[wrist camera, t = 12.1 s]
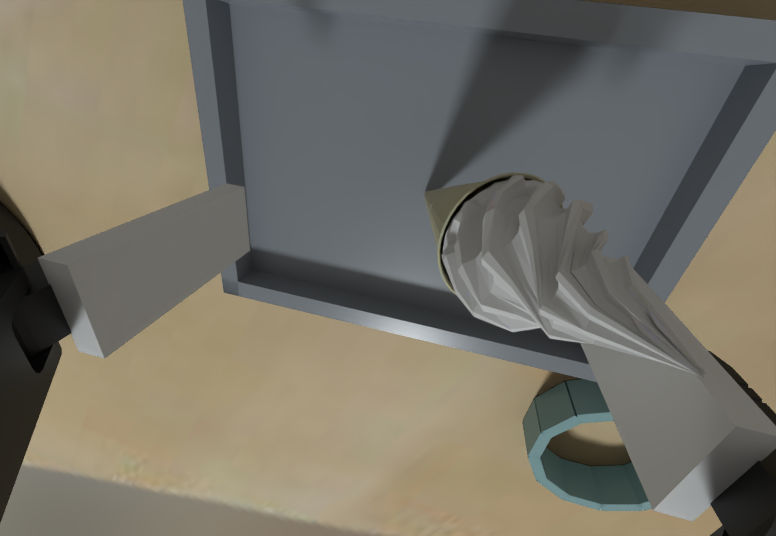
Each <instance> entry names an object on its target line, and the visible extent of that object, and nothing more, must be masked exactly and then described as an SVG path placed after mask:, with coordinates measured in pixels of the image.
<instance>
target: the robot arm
mask: <svg viewBox="0 0 776 536" xmlns="http://www.w3.org/2000/svg"><path fill="white" fill-rule="evenodd" d="M249 251H250V244H249V233H248V222H247V210H246V199H245V188H244V187H242V186H237V185H232V184H227V183H226V184H224V185H221V186H218V187H216V188H213V189H211V190H208V191H206V192H203V193H201V194H198V195H196V196H193V197H190V198H188V199H185V200H183V201H180V202H178V203H175V204H173V205H170V206H168V207H165V208H163V209H160V210H157V211H155V212H152V213H150V214H147V215H145V216H142V217H140V218H137V219H135V220H132V221H130V222H127V223H124V224H122V225H119V226H117V227H114V228H112V229H109V230H107V231H104V232H102V233H99V234H97V235H94V236H91V237H89V238H86V239H84V240H81V241H79V242H76V243H74V244H71V245H69V246H66V247H64V248H61V249H58V250H56V251H53V252H51V253H48V254H46V255H43V256H42V255H41V253H40V252H39V250H38V248H37V247H36V245H35V243H34V242H33V240H32V239H31V238H30V236H29V235H28V233H27V232H26V231H25V230H24V228H23V227H22V226H21V225H20V223H19V222H18V221H17V220H16V219H15V218H14V217H13V216H12V215H11V214H10V213H9V212H8V211H7V210H6V209H5V208H4V207H3V206H2V205H1V204H0V522H1V519H2V517H3V514H4V511H5V508H6V505H7V503H8V500H9V498H10V495H11V492H12V489H13V486H14V484H15V481H16V478H17V475H18V473H19V470H20V467H21V464H22V462H23V459H24V456H25V453H26V451H27V448H28V445H29V442H30V440H31V437H32V434H33V431H34V429H35V426H36V423H37V420H38V418H39V415H40V412H41V409H42V407H43V404H44V401H45V398H46V396H47V393H48V390H49V387H50V385H51V382H52V379H53V376H54V374H55V371H56V368H57V365H58V363H59V360H60V357H61V354H62V349H61V346H60V344H59V342H58V341H59V340H61V339H63V338H64V337H66V336H67V335H69V334H71V335H72V337H73V340H74V342H75V344H76V346H77V349H78V351H79V352H82V353H86V354H90V355H93V356H97V357H100V358H104V359H105V358H106V357H107V356H109V355H110V354H111V353H113V352H114V351H115V350H117V349H118V348H119V347H121V346H122V345H124V344H125V343H126V342H128V341H129V340H130V339H132V338H133V337H134V336H136V335H137V334H138V333H140V332H141V331H142V330H144V329H145V328H146V327H148V326H149V325H150V324H152V323H153V322H154V321H156V320H157V319H159V318H160V317H161V316H163V315H164V314H165V313H167V312H168V311H169V310H171V309H172V308H173V307H175V306H176V305H177V304H179V303H180V302H181V301H183V300H184V299H185V298H187V297H188V296H189V295H191V294H192V293H194V292H195V291H196V290H198V289H199V288H200V287H202V286H203V285H204V284H206V283H207V282H208V281H210V280H211V279H212V278H214V277H215V276H216V275H218V274H219V273H220V272H222V271H223V270H224V269H226V268H227V267H229V266H230V265H231V264H233V263H234V262H235V261H237V260H238V259H239V258H241V257H242V256H243V255H245V254H246V253H247V252H249ZM603 258H604V261H606V262H612V263H613V262H615V261H617V260H619V259H616V258H610V257H605V256H603ZM631 268H632V267H631ZM632 272H633V275H634V279H635V283H636V286H637V287H638V289H639V290H640V291H641V293H642V294H643V295H644V296H645V297H646V298H647V300H648V301H649V302H650V304H651V305H652V306H653V307H654V309H655V310H656V311H657V313H658V314H659V315H660V316H661V318H662V319H663V320H664V322H665V323H666V324H667V325H668V327H669V328H670V329H671V330H672V332H673V333H674V334H675V336H676V337H677V338H678V339H679V341H680V342H681V343H682V345H683V346H684V347H685V348H686V350H687V351H688V352H689V354H690V355H691V356H692V357H693V359H694V360H695V361H696V363H697V364H698V365H699V366H700V367H701V368H703V369H704V371H705V373H706V375H704V374H703V375H702V376H703V377H705V378H702V377H701V376H699V375H696V374H693V373H690V372H687V371H684V370H681V369H678V368H675V367H673V366H670V365H667V364H663V363H660V362H656V361H652V360H649V359H645V358H641V357H638V356H634V355H630V354H627V353H623V352H619V351H616V350H612V349H608V348H605V347H601V346H597V345H594V344H587V343H580V344H581V346H582V348H583V351H584V353H585V355H586V358H587V360H588V362H589V365H590V367H591V369H592V371H593V374H594V376H595V378H596V381H597V383H598V385H599V388H600V390H601V392H602V394H603V397H604V399H605V401H606V404H607V406H608V408H609V411H610V413H611V415H612V417H613V420H614V422H615V424H616V427H617V429H618V431H619V434H620V436H621V438H622V441H623V443H624V445H625V447H626V450H627V452H628V454H629V457H630V459H631V461H632V464H633V466H634V468H635V470H636V473H637V475H638V477H639V480H640V482H641V484H642V487H643V489H644V491H645V493H646V496H647V498H648V500H649V503H650V505H651V507H652V510H653V511H657V512H661V513H664V514H668V515H672V516H675V517H679V518H682V519H686V520H690V521H694V520H695V519H696V518H697V517H698V516H699V515H701V514H702V513H703V512H704V511H705V510H706V509H707V508H709V507H710V506H712V507H713V509H714V511H715V513H716V514H717V516H718V518H719V520H720V521H721V523H722V526H721V527H720V528H719V529H717V530H716V531H715V532H714V533H713V534H711V535H710V536H776V414H775V413H774V412H773V411H772V409H771V408H770V407H769V406H768V405H767V404H766V403H762V399H761V398H760V397H759V396H758V395H757V393H756V392H755V391H754V390H753V389H752V388H748V384H747V383H746V382H745V381H744V380H743V379H742V377H741V376H740V375H739V374H738V373H737V372H736V371H735V370H734V369H733V368H732V367H731V366H729V365H728V364H727V363H725V362H724V361H723V360H721V359H720V358H718V357H717V356H716V355H714V354H713V353H712V352H710V351H707V349H706V348H705V347H704V346H703V345H702V344H701V343H700V342H699V341H698V340H697V338H696V337H695V336H694V335H693V334H692V333H691V332H690V331H689V330H688V328H687V327H686V326H685V325H684V324H683V323H682V322H681V321H680V320H679V319H678V317H677V316H676V315H675V314H674V313H673V312H672V311H671V310H670V309H669V308H668V306H667V305H666V304H665V303H664V302H663V301H662V300H661V299H660V298H659V296H658V295H657V294H656V293H655V292H654V291H653V290H652V289H651V288H650V287H649V285H648V284H647V283H646V282H645V281H644V280H643V279H642V278H641V277H640V276H639V274H638V273H637V272H636V271H635V270H634V269H633V268H632Z"/></svg>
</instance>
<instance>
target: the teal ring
mask: <svg viewBox="0 0 776 536" xmlns="http://www.w3.org/2000/svg"><path fill="white" fill-rule="evenodd" d="M604 421H614V420H613V417H612V415H611V413H610V411H609V408H608V406H607V404H606V401H605V399H604V397H603V394H602V392H601V390H600V388H599V385H598V383H597V382H594V381H589V380H585V379H578V380H569V381H566V383H565V382H562V383H561V384H559V385H557V386H555V387H554V388H552V389H550V390H548V391H546V392H545V393H543V394H541V395H539V396H538V397H536V398H535V399H534V400H533V402H532V404H531V406H530V408H529V410H528V412H527V414H526V416H525V418H524V420H523V429H524V435H525V442H526V448H527V455H528V459H529V462H530V465H531V467H532V470H533V473H534V476H535V479H536V480H537V482H539V483H540V484H542V485H543V486H544V487H546V488H547V489H548V490H550V491H551V492H552V493H554V494H555V495H557V496H558V497H559V498H561V499H563V500H565V501H568V502H572V503H575V504H579V505H582V506H586V507H589V508H593V509H596V510H600V509H601V511H642V509H643V510H644V511H645V510H648V509H652V507H651V505H650V503H649V500H648V498H647V496H646V493H645V491H644V489H643V487H642V484H641V482H640V480H639V477H638V475H637V473H636V470H635V468H634V466H633V464H632V462H630V463H627V464H625V465H613V466H587V465H583V464H580V463H576V462H572V461H569V460H565V459H561V458H559V457H558V456H557V455H555V454H554V453H553V452H551V451H550V450H549V449H547V448H546V446H547V445H548V443H549V441H550V439H551V438H552V437H554V436H556V435H558V434H560V433H562V432H564V431H566V430H569V429H571V428H573V427H575V426H577V425H579V424H581V423H591V422H604Z"/></svg>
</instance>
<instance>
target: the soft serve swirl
mask: <svg viewBox="0 0 776 536" xmlns="http://www.w3.org/2000/svg"><path fill="white" fill-rule="evenodd" d="M424 198H425V202H426V206H427V210H428V214H429V218H430V223H431V227H432V230H433V233H434V237H435V241H436V245H437V258H438V266H439V270H440V274H441V276H442V278H443V280H444V282H445V284H446V285H447V286H448V288H449V289H450V290H451V291H452V292H453V293H454V294H455V295H457V296H458V298H459V299H460V300H461V301H462V302H463V304H464V305H465V306H466V307H467V309H468V310H469V311H470V312H471V314H472V315H473V316H474V317H476V318H478V319H481V320H483V321H486V322H488V323H491V324H493V325H496V326H498V327H501V328H503V329H506V330H508V331H511V332H518V331H524V330H530V329H536V328H541V329H542V330H543V331H544V332H545V333H546V335H547V336H548V337H549V338H551V339H556V340H564V341H571V342H579V343H587V344H594V345H597V346H601V347H605V348H608V349H612V350H616V351H619V352H623V353H627V354H630V355H634V356H638V357H641V358H645V359H649V360H652V361H656V362H660V363H663V364H667V365H670V366H673V367H675V368H678V369H681V370H684V371H687V372H690V373H693V374H696V375H699V376H701V377H702V378H705V377H703V376H702V375H703V374H704V375H706V373H705V371H704V369H703V368H701V367H700V366H699V365H698V364H697V363H696V361H695V360H694V359H693V357H692V356H691V355H690V354H689V352H688V351H687V350H686V348H685V347H684V346H683V345H682V343H681V342H680V341H679V339H678V338H677V337H676V336H675V334H674V333H673V332H672V330H671V329H670V328H669V327H668V325H667V324H666V323H665V322H664V320H663V319H662V318H661V316H660V315H659V314H658V313H657V311H656V310H655V309H654V307H653V306H652V305H651V304H650V302H649V301H648V300H647V298H646V297H645V296H644V295H643V294H642V293H641V291H640V290H639V289H638V287H637V286H636V283H635V279H634V275H633V272H632V268H631V265H630V261H629V258H628V256H623V257H621V258H620V259H619V260H617V261H615V262H613V263H612V262H606V261H604V258H603V255H602V252H601V250H602V248H603V247H604V245H605V244H606V242H607V241H608V235H607V231H606V229H605V230H602V231H600V232H597V233H590V232H589V231H587V230H586V229H585V228H584V227H583V225H584V224H585V222H586V221H587V220H588V219H589V217H590V216H591V215H592V213H593V204H590V203H588V202H586V201H583V200H573V201H572V202H571V204H570V206H569V207H568V209H564V208H563V204H562V203H563V202H564V200H565V195H564V192H563V190H562V189H561V188H560V187H559V186H558V185H557V184H556V183H555V182H554V181H549V182H546V181H545V180H543V179H541V178H539V177H537V176H535V175H531V174H527V173H514V172H512V173H506V174H500V175H497V176H494V177H492V178H489V179H486V180H485V181H482V182H476V183H468V184H463V185H458V186H452V187H447V188H442V189H436V190H431V191H427V192H425V194H424Z"/></svg>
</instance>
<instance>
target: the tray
mask: <svg viewBox="0 0 776 536" xmlns="http://www.w3.org/2000/svg"><path fill="white" fill-rule="evenodd" d="M183 6H184V13H185V20H186V27H187V34H188V42H189V49H190V56H191V63H192V70H193V77H194V84H195V91H196V98H197V105H198V112H199V119H200V127H201V134H202V141H203V148H204V155H205V162H206V169H207V176H208V183H209V190H211V189H213V188H216V187H218V186H221V185H224V184H226V183H227V184H232V185H237V186H242V187H244V188H245V199H246V210H247V222H248V233H249V244H250V251H249V252H247V253H246V254H245V255H243V256H242V257H241V258H239V259H238V260H237V261H235V262H234V263H233V264H231V265H230V266H229V267H227V268H226V269H224V270H223V271H222V272H221V275H222V282H223V290H224V293H228V294H233V295H237V296H241V297H245V298H249V299H253V300H257V301H262V302H266V303H270V304H274V305H278V306H282V307H287V308H291V309H295V310H299V311H303V312H307V313H311V314H316V315H320V316H324V317H328V318H332V319H336V320H340V321H345V322H349V323H353V324H357V325H361V326H365V327H370V328H374V329H378V330H382V331H386V332H390V333H394V334H399V335H403V336H407V337H411V338H415V339H419V340H423V341H428V342H432V343H436V344H440V345H444V346H448V347H453V348H457V349H461V350H465V351H469V352H473V353H477V354H482V355H486V356H490V357H494V358H498V359H502V360H506V361H511V362H515V363H519V364H523V365H527V366H531V367H536V368H540V369H544V370H548V371H552V372H556V373H560V374H565V375H569V376H573V377H577V378H581V379H585V380H589V381H594V382H597V381H596V378H595V376H594V374H593V371H592V369H591V367H590V365H589V362H588V360H587V358H586V355H585V353H584V351H583V348H582V346H581V344H580V343H579V342H571V341H564V340H556V339H551V338H549V337H548V336H547V335H546V333H545V332H544V331H543V330H542V329H541V328H536V329H530V330H524V331H518V332H511V331H508V330H506V329H503V328H501V327H498V326H496V325H493V324H491V323H488V322H486V321H483V320H481V319H478V318H476V317H474V316H473V315H472V314H471V312H470V311H469V310H468V309H467V307H466V306H465V305H464V304H463V302H462V301H461V300H460V299H459V298H458V296H457V295H455V294H454V293H453V292H452V291H451V290H450V289H449V288H448V286H447V285H446V284H445V282H444V280H443V278H442V276H441V274H440V270H439V266H438V258H437V245H436V241H435V237H434V233H433V230H432V227H431V223H430V218H429V214H428V210H427V206H426V202H425V198H424V194H425V192H427V191H431V190H436V189H442V188H447V187H452V186H458V185H463V184H468V183H476V182H482V181H485V180H486V179H489V178H492V177H494V176H497V175H500V174H506V173H512V172H514V173H527V174H531V175H535V176H537V177H539V178H541V179H543V180H545V181H546V182H549V181H554V182H555V183H556V184H557V185H558V186H559V187H560V188H561V189H562V190H563V192H564V195H565V200H564V202H563V203H562V204H563V208H564V209H568V207H569V206H570V204H571V202H572V201H573V200H583V201H586V202H588V203H590V204H593V213H592V215H591V216H590V217H589V219H588V220H587V221H586V222H585V224H584V225H583V227H584V228H585V229H586V230H587V231H589V232H590V233H597V232H600V231H602V230H605V229H606V231H607V235H608V241H607V242H606V244H605V245H604V247H603V248H602V250H601V252H602V255H603V256H605V257H610V258H616V259H620V258H621V257H623V256H628V258H629V261H630V265H631V267H632V268H633V269H634V270H635V271H636V272H637V273H638V274H639V276H640V277H641V278H642V279H643V280H644V281H645V282H646V283H647V284H648V285H649V287H650V288H651V289H652V290H653V291H654V292H655V293H656V294H657V295H658V296H659V298H660V299H661V300H662V301H663V302H664V303H665V301H666V300H667V298H668V297H669V295H670V294H671V292H672V290H673V289H674V287H675V286H676V284H677V283H678V281H679V280H680V278H681V276H682V275H683V273H684V272H685V270H686V269H687V267H688V266H689V264H690V263H691V261H692V259H693V258H694V256H695V255H696V253H697V252H698V250H699V249H700V247H701V245H702V244H703V242H704V241H705V239H706V238H707V236H708V235H709V233H710V231H711V230H712V228H713V227H714V225H715V224H716V222H717V221H718V219H719V217H720V216H721V214H722V213H723V211H724V210H725V208H726V207H727V205H728V204H729V202H730V200H731V199H732V197H733V196H734V194H735V193H736V191H737V190H738V188H739V186H740V185H741V183H742V182H743V180H744V179H745V177H746V176H747V174H748V172H749V171H750V169H751V168H752V166H753V165H754V163H755V162H756V160H757V158H758V157H759V155H760V154H761V152H762V151H763V149H764V148H765V146H766V145H767V143H768V141H769V140H770V138H771V137H772V135H773V134H774V132H775V131H776V20H766V19H756V18H747V17H737V16H727V15H718V14H708V13H698V12H689V11H679V10H669V9H660V8H650V7H640V6H631V5H621V4H611V3H602V2H592V1H582V0H183Z"/></svg>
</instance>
